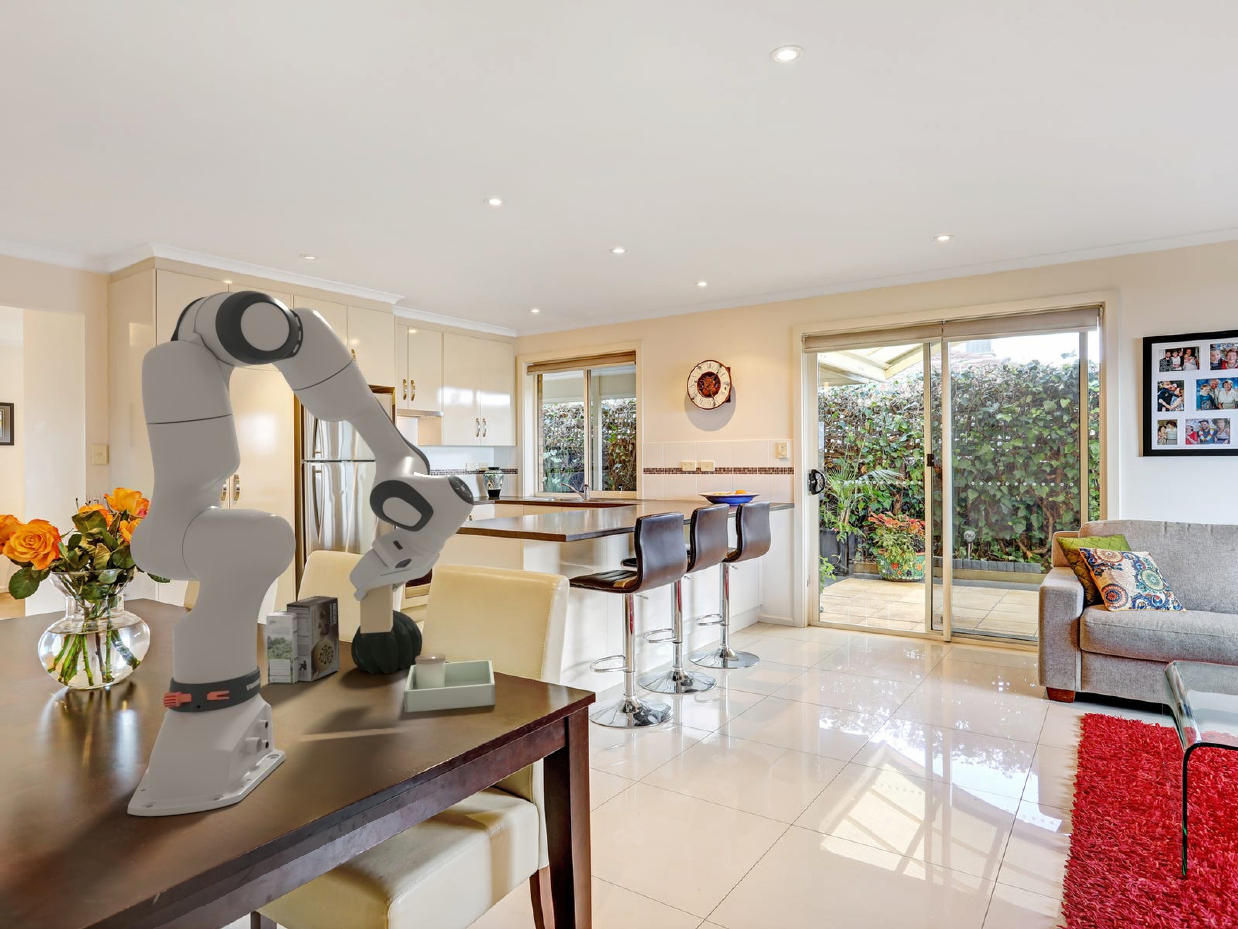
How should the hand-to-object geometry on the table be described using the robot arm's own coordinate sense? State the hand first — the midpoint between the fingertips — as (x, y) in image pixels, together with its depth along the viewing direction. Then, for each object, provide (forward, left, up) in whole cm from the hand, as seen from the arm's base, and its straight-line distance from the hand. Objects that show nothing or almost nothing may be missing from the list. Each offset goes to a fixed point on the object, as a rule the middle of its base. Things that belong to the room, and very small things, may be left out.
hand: (374, 594), depth 142 cm
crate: (-7, -15, -20) cm, 25 cm away
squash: (+16, -1, -20) cm, 25 cm away
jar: (-2, -11, -19) cm, 22 cm away
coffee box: (+16, +15, -20) cm, 29 cm away
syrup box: (+14, +19, -20) cm, 31 cm away
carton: (0, 0, -7) cm, 7 cm away
